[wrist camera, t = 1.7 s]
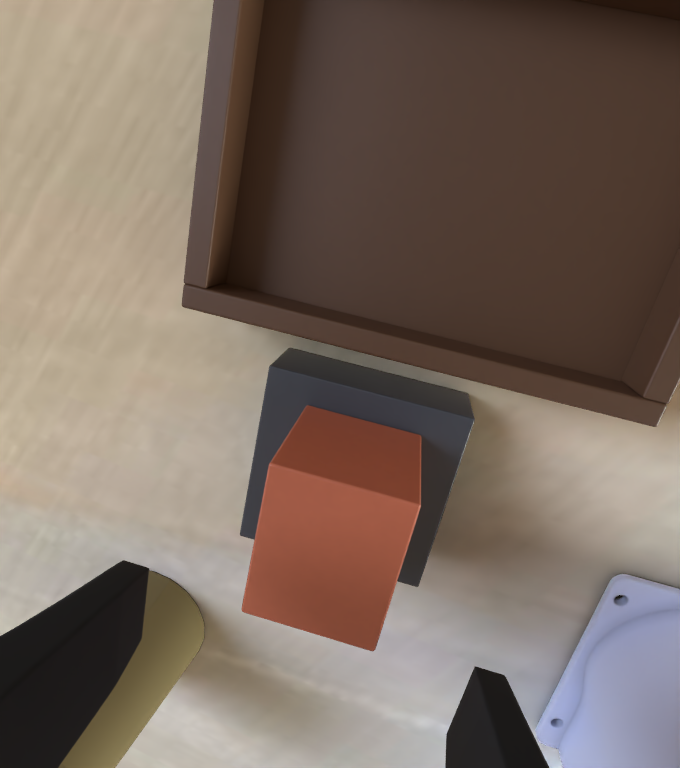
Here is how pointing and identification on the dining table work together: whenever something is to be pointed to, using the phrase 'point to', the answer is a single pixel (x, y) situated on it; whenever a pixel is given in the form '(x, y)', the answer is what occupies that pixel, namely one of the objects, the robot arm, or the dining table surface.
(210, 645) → the dining table surface
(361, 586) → the terracotta block
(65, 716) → the robot arm
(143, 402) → the dining table surface
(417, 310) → the tray
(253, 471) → the base block
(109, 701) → the olive pawn
